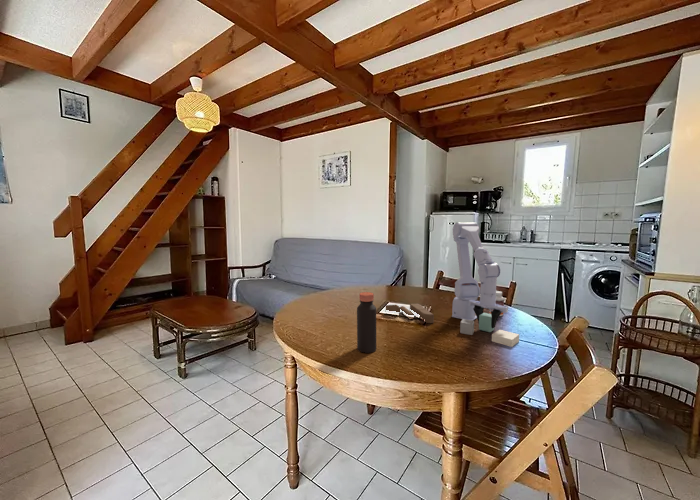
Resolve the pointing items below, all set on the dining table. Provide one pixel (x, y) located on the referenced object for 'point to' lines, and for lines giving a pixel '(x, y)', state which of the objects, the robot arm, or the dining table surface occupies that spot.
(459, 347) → the dining table surface
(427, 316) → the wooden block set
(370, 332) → the vinegar
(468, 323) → the grey block
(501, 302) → the pill bottle
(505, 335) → the cream slab
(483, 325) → the teal block
